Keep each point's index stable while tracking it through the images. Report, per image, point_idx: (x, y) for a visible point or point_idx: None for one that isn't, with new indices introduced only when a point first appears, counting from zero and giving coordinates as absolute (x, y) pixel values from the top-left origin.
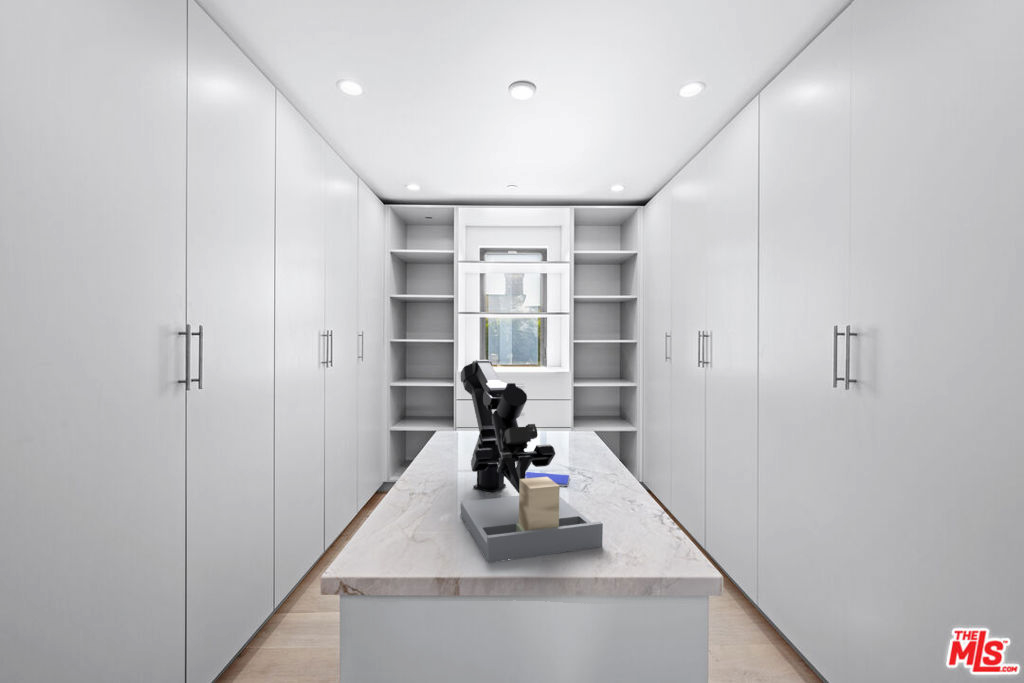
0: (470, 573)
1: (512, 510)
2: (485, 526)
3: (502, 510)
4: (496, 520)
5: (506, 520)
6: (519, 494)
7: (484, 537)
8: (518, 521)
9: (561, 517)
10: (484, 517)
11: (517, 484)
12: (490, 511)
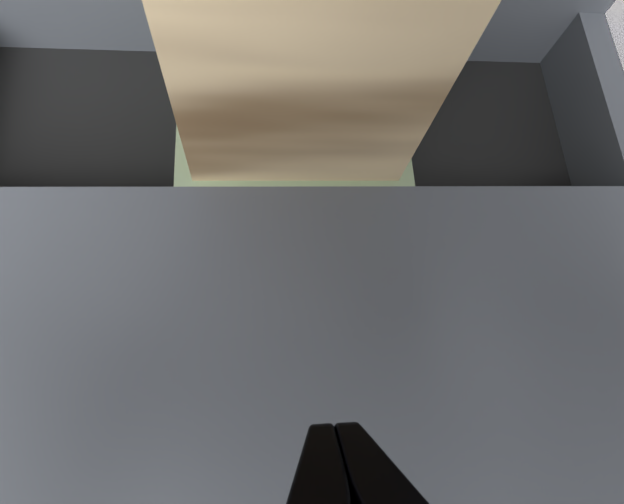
0: (617, 8)
1: (388, 436)
2: (612, 198)
3: (472, 457)
4: (538, 267)
5: (470, 250)
6: (485, 22)
7: (616, 72)
8: (391, 213)
9: (54, 199)
10: (621, 339)
11: (406, 485)
12: (573, 456)
